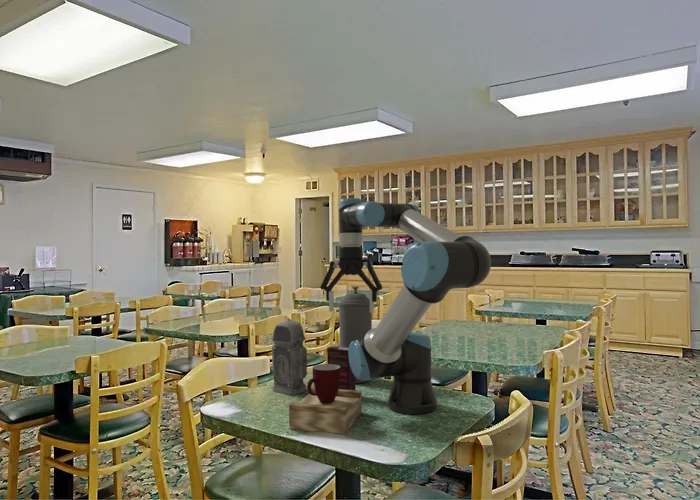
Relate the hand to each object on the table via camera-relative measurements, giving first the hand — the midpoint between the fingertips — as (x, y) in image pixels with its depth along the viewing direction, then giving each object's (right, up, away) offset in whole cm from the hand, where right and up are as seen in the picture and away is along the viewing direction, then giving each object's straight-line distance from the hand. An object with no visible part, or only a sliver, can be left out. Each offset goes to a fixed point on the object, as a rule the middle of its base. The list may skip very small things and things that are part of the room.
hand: (351, 311), depth 163 cm
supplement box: (-3, -29, +6) cm, 30 cm away
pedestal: (-7, -29, -19) cm, 35 cm away
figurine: (-21, -29, +12) cm, 38 cm away
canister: (+2, -29, +25) cm, 38 cm away
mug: (-8, -24, -18) cm, 31 cm away
